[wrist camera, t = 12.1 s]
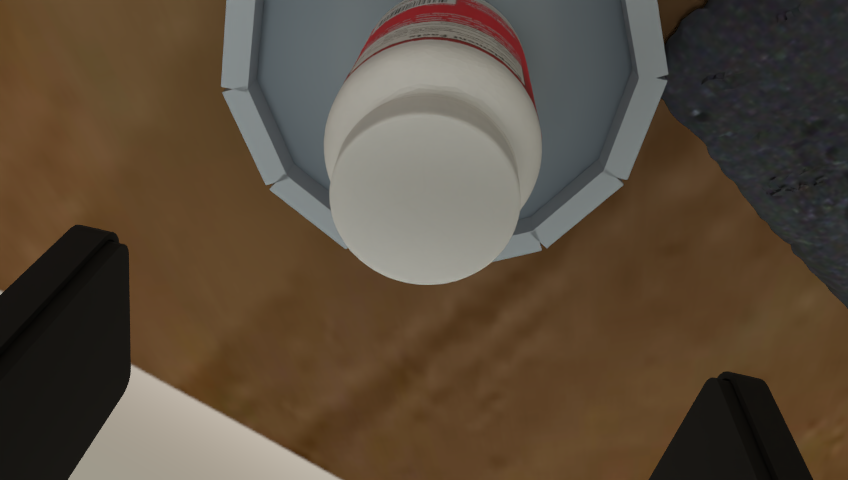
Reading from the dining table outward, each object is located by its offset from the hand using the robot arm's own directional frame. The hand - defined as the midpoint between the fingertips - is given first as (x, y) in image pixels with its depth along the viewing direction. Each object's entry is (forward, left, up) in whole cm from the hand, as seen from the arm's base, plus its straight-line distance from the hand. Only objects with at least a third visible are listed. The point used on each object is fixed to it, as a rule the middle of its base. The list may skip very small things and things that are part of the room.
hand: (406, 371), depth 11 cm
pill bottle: (0, 0, -18) cm, 18 cm away
